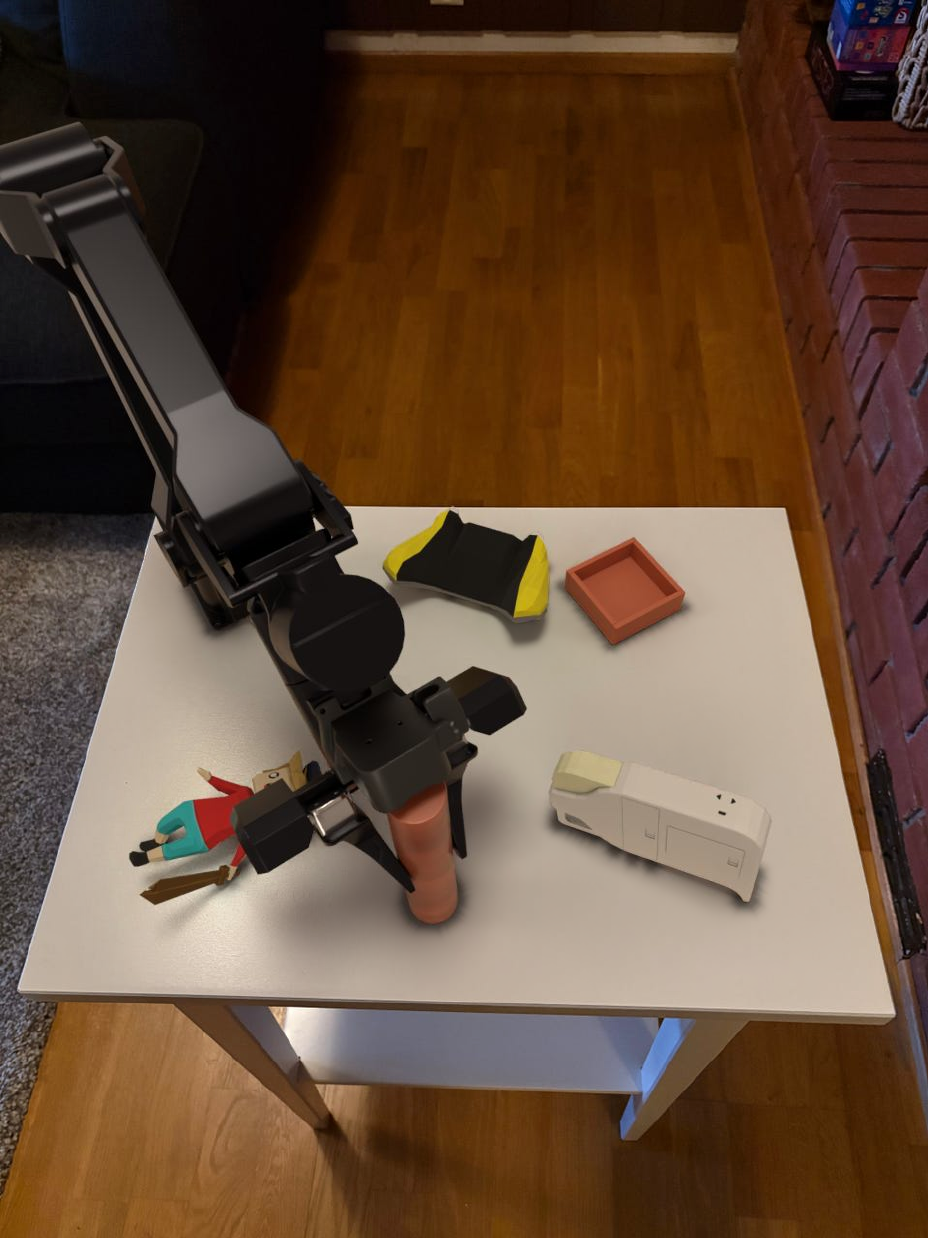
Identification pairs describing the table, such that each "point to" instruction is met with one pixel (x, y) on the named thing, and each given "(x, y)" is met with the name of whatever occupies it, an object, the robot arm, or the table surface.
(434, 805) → the terracotta peg
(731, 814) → the white device casing
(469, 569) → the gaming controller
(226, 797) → the toy
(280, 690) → the table surface
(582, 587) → the terracotta bin
